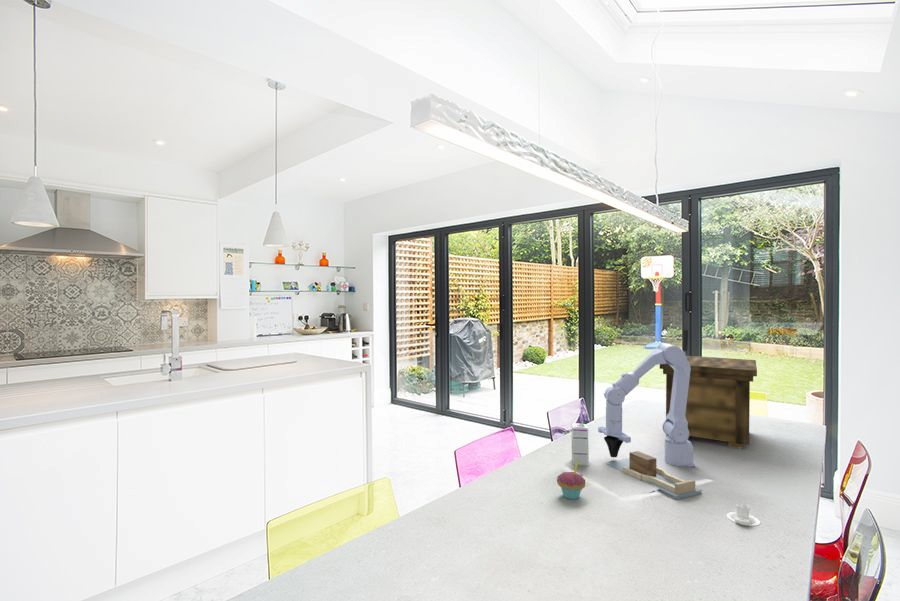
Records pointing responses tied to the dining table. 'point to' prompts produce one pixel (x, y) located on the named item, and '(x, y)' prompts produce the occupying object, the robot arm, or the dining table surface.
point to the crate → (717, 398)
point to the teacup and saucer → (742, 515)
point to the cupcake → (571, 483)
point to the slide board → (660, 480)
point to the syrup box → (580, 444)
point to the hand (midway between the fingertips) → (613, 456)
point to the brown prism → (642, 463)
